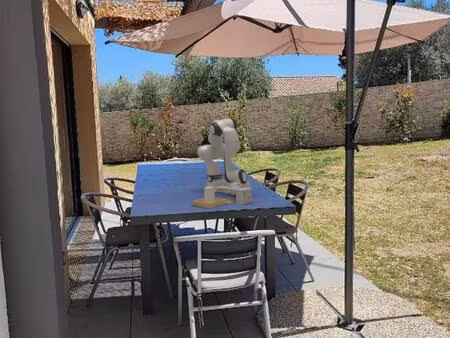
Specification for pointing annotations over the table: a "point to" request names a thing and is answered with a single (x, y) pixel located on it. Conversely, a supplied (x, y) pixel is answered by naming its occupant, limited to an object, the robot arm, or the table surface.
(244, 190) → the light bulb box
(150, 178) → the table surface
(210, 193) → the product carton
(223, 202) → the tray
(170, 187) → the table surface
